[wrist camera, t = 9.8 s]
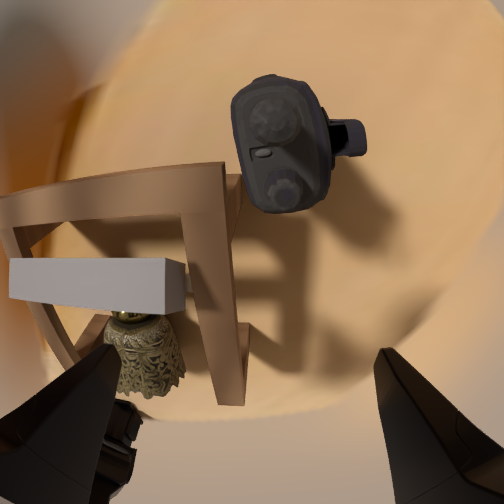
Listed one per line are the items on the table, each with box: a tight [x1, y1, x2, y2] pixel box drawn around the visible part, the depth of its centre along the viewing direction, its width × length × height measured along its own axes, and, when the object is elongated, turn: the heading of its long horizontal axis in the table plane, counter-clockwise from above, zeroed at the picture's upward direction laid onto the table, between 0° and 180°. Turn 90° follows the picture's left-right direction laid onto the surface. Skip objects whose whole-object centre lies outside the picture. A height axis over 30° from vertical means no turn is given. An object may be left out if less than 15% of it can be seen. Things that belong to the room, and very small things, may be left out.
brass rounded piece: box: [104, 311, 186, 399], centre depth 22 cm, size 8×7×8 cm
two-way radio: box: [231, 74, 367, 214], centre depth 11 cm, size 6×4×15 cm
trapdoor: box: [9, 258, 193, 315], centre depth 17 cm, size 11×11×2 cm
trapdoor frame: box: [0, 162, 250, 406], centre depth 19 cm, size 16×17×8 cm
